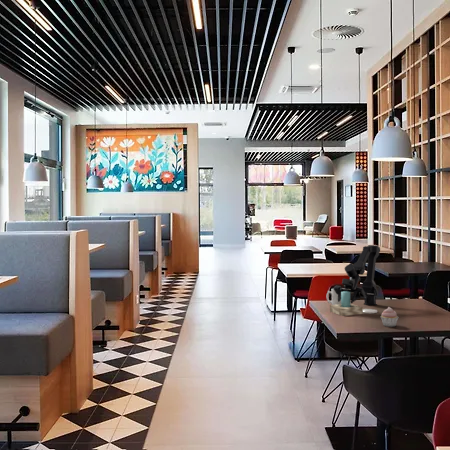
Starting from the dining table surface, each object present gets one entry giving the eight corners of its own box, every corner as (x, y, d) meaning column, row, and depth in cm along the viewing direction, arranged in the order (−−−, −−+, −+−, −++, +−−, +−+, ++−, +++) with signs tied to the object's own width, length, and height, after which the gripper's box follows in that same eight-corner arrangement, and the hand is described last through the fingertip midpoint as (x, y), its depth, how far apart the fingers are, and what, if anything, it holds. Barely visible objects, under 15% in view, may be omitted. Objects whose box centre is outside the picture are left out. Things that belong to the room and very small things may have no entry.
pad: (370, 309, 303) (370, 308, 303) (380, 312, 293) (380, 311, 293) (357, 310, 300) (357, 309, 300) (366, 313, 290) (366, 312, 290)
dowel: (347, 311, 298) (347, 291, 298) (352, 313, 293) (352, 292, 293) (339, 312, 297) (339, 291, 296) (344, 313, 291) (344, 293, 291)
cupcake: (386, 323, 265) (385, 304, 265) (402, 325, 258) (401, 306, 258) (376, 325, 259) (376, 306, 259) (392, 328, 252) (392, 309, 252)
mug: (342, 307, 313) (342, 288, 313) (342, 308, 307) (341, 289, 307) (326, 306, 316) (326, 288, 316) (326, 308, 310) (325, 289, 310)
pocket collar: (349, 309, 304) (349, 303, 304) (362, 313, 290) (362, 307, 290) (329, 311, 299) (329, 305, 299) (342, 315, 286) (341, 309, 286)
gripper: (334, 272, 304) (326, 292, 296) (362, 274, 291) (354, 295, 283) (341, 283, 310) (332, 303, 302) (368, 286, 297) (360, 306, 289)
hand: (344, 302), depth 294 cm, fingers open, 8 cm apart
